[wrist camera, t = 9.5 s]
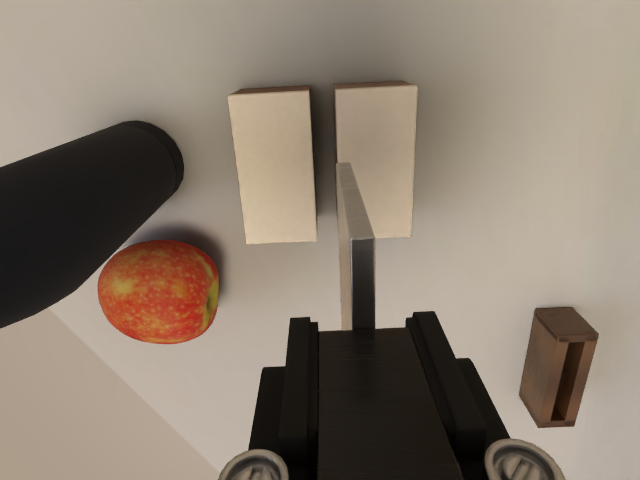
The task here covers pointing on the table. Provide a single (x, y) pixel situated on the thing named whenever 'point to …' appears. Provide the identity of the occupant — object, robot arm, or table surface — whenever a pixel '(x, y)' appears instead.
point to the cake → (275, 163)
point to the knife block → (557, 366)
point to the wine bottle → (77, 210)
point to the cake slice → (379, 149)
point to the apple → (160, 291)
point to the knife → (373, 376)
